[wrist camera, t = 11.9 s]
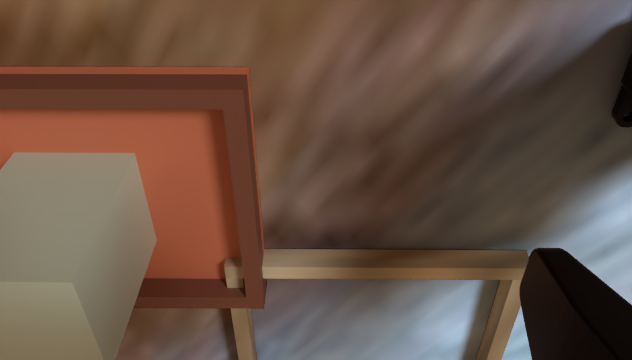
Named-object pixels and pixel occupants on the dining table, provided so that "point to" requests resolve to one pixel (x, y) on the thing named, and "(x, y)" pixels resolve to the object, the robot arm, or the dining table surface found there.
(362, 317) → the dining table surface
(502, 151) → the dining table surface
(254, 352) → the tan thin square frame
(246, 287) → the tray
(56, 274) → the sage block
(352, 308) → the dining table surface
